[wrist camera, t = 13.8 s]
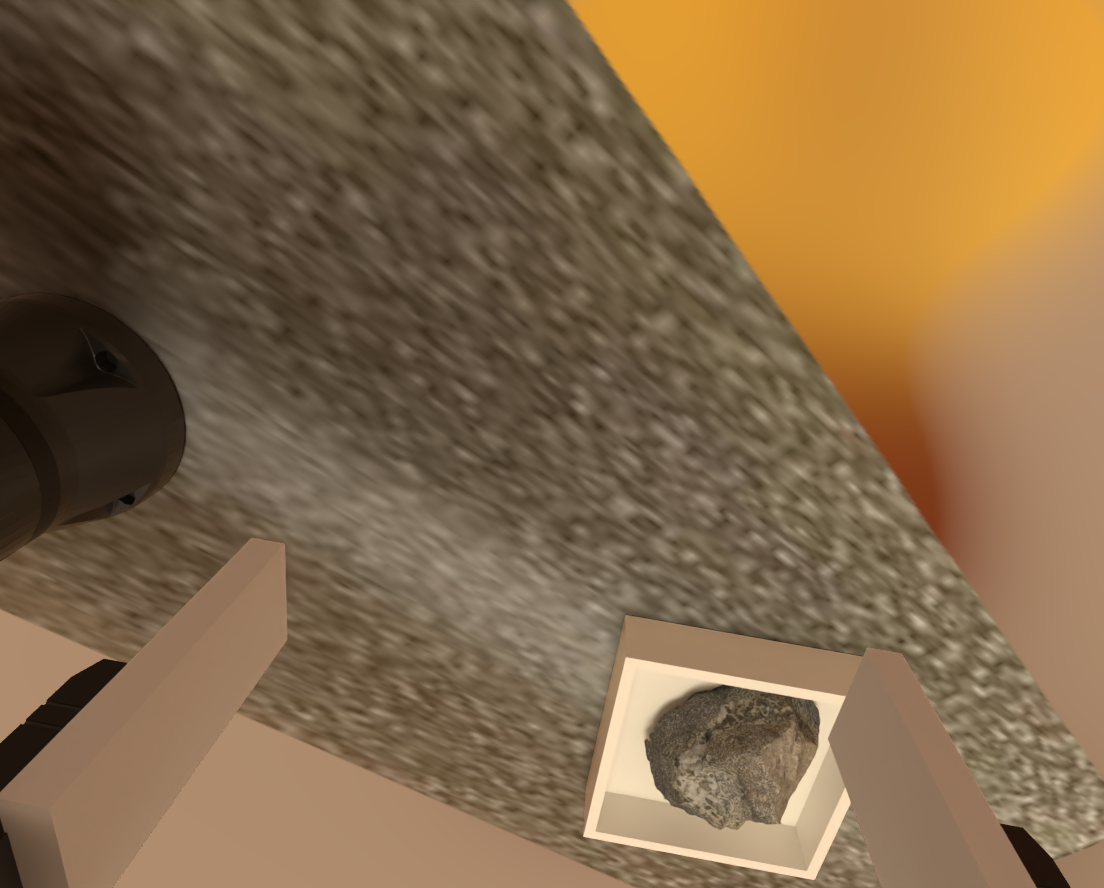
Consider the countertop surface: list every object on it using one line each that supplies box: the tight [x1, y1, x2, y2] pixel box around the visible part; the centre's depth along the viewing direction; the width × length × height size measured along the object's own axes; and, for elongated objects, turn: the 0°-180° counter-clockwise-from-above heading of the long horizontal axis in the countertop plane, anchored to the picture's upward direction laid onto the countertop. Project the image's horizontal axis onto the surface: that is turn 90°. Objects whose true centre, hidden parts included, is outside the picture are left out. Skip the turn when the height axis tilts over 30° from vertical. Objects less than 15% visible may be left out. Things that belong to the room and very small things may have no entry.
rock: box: [644, 684, 820, 830], centre depth 46 cm, size 13×9×6 cm, turn 145°
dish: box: [583, 615, 863, 880], centre depth 48 cm, size 18×18×4 cm
